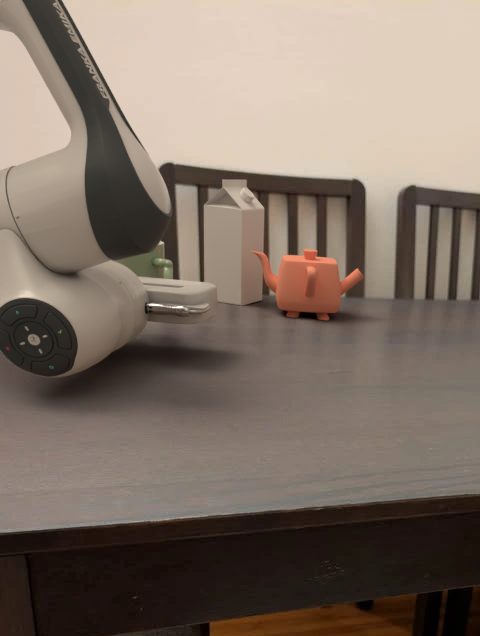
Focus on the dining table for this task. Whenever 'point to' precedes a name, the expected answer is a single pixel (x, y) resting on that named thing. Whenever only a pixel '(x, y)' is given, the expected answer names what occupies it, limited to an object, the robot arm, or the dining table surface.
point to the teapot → (308, 283)
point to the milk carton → (234, 243)
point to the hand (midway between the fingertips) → (145, 284)
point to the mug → (150, 264)
